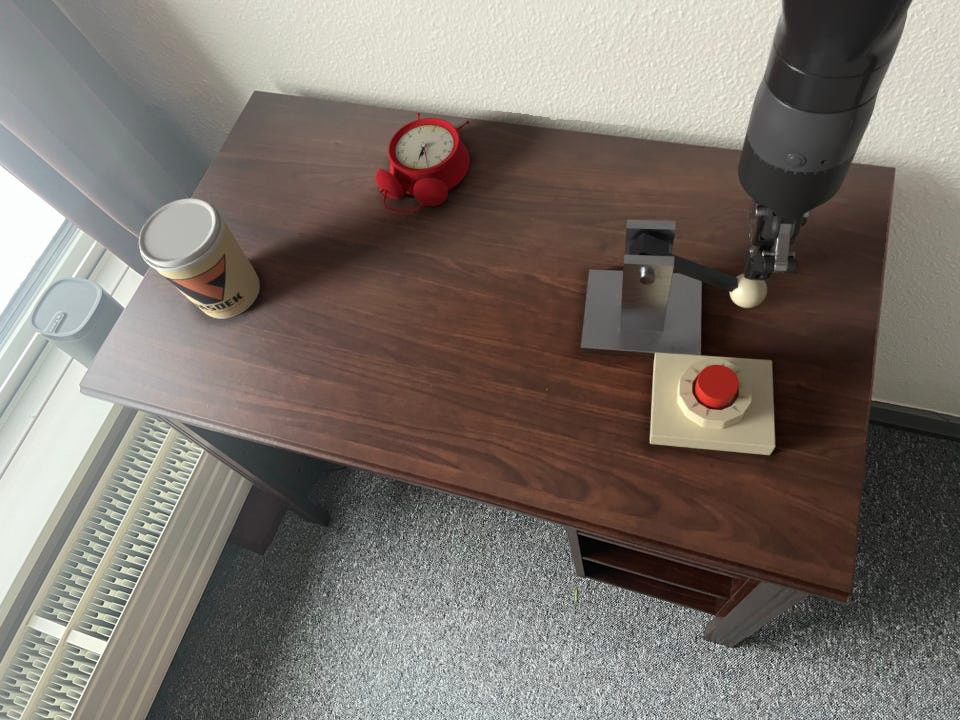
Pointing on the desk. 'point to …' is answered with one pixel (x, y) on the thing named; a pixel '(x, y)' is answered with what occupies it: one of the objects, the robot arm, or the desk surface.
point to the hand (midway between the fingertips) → (755, 272)
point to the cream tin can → (200, 257)
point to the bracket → (643, 303)
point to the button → (716, 386)
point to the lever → (705, 273)
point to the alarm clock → (424, 162)
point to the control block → (712, 428)
